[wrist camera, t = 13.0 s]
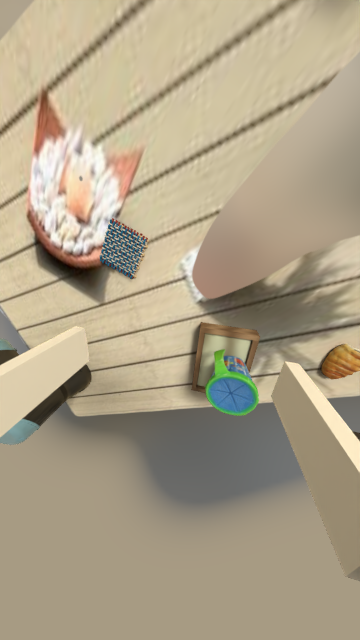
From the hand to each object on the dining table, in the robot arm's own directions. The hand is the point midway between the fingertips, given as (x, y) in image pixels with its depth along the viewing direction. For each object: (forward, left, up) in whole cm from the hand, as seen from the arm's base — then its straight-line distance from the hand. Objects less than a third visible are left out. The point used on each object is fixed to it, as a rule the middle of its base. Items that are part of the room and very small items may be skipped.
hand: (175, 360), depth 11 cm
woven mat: (-20, +6, -32) cm, 39 cm away
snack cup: (+10, -20, -29) cm, 37 cm away
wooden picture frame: (+8, -20, -32) cm, 38 cm away
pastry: (+36, -14, -32) cm, 50 cm away
